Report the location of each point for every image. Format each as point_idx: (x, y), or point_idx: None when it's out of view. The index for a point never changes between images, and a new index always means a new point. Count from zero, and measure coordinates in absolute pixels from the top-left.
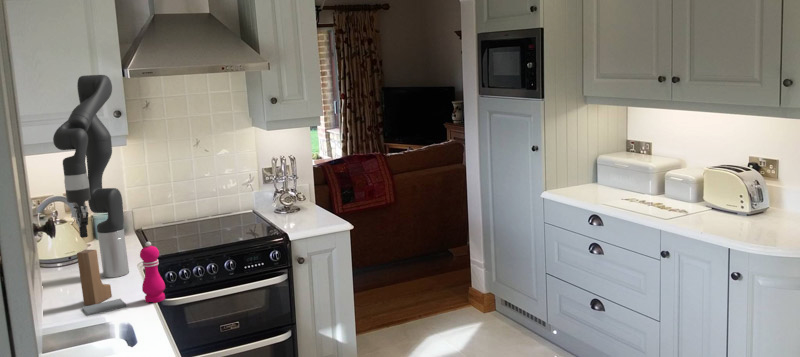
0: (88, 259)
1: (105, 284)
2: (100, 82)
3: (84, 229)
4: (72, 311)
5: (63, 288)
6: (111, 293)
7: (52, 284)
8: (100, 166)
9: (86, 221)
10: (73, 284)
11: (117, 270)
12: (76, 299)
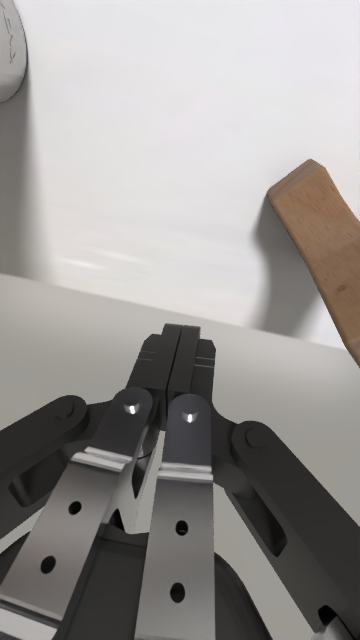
0: None
1: (312, 187)
2: None
3: (204, 391)
4: None
5: (71, 257)
6: (313, 160)
7: (9, 268)
8: None
9: (303, 491)
10: (42, 223)
11: (6, 31)
12: (222, 259)
